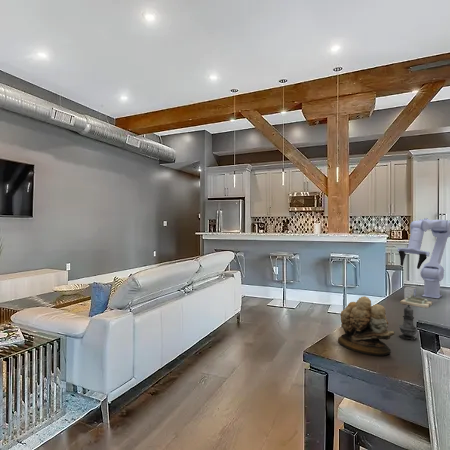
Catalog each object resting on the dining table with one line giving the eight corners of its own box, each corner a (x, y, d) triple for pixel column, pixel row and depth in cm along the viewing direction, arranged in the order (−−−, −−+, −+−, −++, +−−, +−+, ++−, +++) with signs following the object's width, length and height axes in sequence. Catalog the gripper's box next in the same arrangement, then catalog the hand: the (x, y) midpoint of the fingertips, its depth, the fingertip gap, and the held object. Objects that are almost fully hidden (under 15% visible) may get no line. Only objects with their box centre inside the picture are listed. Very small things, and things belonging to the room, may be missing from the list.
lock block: (406, 297, 178) (406, 286, 178) (415, 299, 175) (416, 287, 175) (404, 299, 174) (404, 287, 174) (413, 300, 171) (413, 289, 171)
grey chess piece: (395, 334, 120) (395, 302, 119) (410, 334, 120) (411, 302, 120) (405, 340, 114) (406, 306, 113) (421, 340, 114) (422, 306, 114)
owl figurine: (400, 351, 105) (401, 298, 105) (385, 361, 97) (386, 305, 97) (347, 335, 118) (348, 288, 118) (330, 344, 110) (331, 294, 110)
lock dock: (406, 299, 173) (406, 295, 173) (432, 303, 164) (432, 299, 164) (400, 303, 165) (400, 298, 165) (427, 308, 156) (427, 303, 156)
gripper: (398, 237, 172) (392, 262, 169) (429, 241, 162) (424, 267, 159) (401, 242, 177) (395, 265, 174) (432, 246, 167) (426, 271, 164)
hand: (409, 266), depth 167 cm, fingers open, 7 cm apart
